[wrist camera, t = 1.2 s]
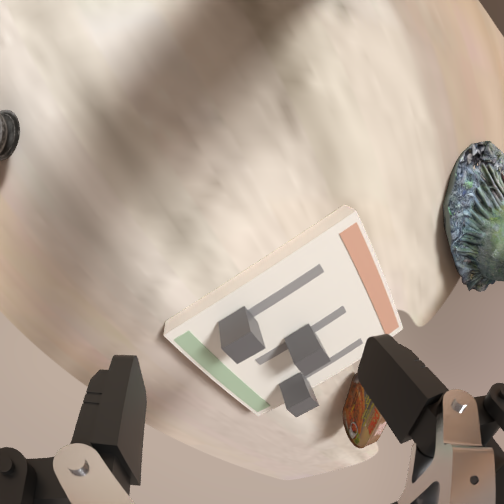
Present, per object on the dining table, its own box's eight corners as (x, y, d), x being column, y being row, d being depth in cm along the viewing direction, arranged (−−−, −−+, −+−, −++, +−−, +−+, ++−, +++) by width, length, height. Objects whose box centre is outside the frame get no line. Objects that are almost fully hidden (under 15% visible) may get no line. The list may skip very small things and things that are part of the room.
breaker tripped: (308, 323, 30) (321, 347, 26) (317, 336, 30) (331, 360, 27) (284, 338, 30) (294, 364, 26) (294, 351, 31) (304, 376, 27)
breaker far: (300, 372, 32) (310, 396, 29) (309, 381, 33) (319, 405, 30) (278, 384, 32) (286, 409, 29) (288, 393, 33) (296, 417, 30)
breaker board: (344, 204, 28) (356, 210, 26) (393, 318, 35) (403, 328, 33) (165, 321, 30) (163, 336, 28) (255, 402, 37) (258, 416, 35)
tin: (358, 359, 37) (385, 402, 30) (377, 355, 38) (405, 395, 30) (338, 420, 43) (355, 457, 35) (354, 416, 43) (372, 452, 36)
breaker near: (244, 305, 27) (250, 331, 24) (257, 322, 28) (265, 348, 25) (218, 321, 28) (221, 348, 24) (232, 337, 29) (237, 364, 25)
